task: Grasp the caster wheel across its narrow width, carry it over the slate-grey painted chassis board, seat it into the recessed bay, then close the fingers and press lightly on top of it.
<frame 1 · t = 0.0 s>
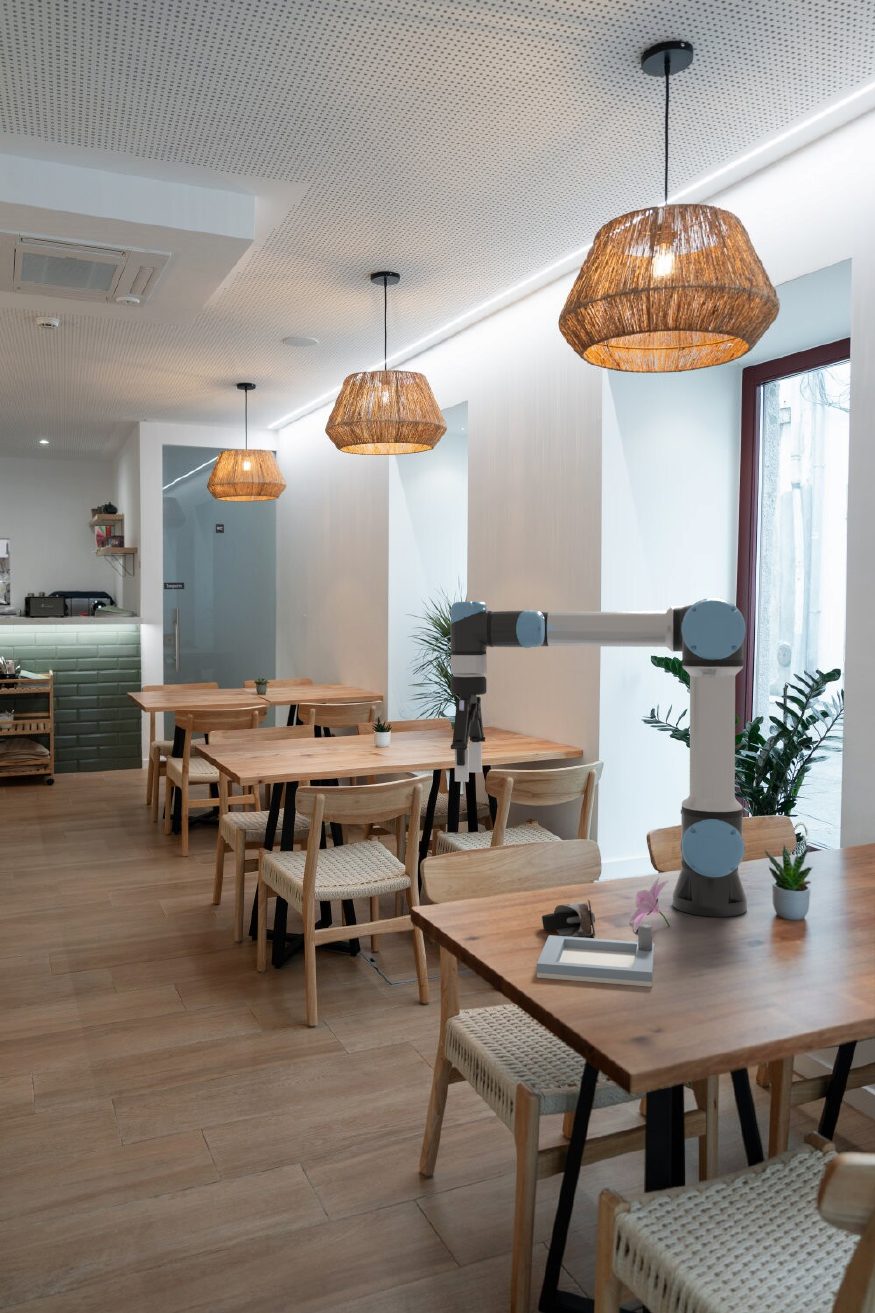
hand: (468, 776, 207), 28 cm above the table, fingers open, 13 cm apart
lily: (648, 928, 195), on the table
chassis: (597, 966, 172), on the table
caster wheel: (568, 935, 191), on the table
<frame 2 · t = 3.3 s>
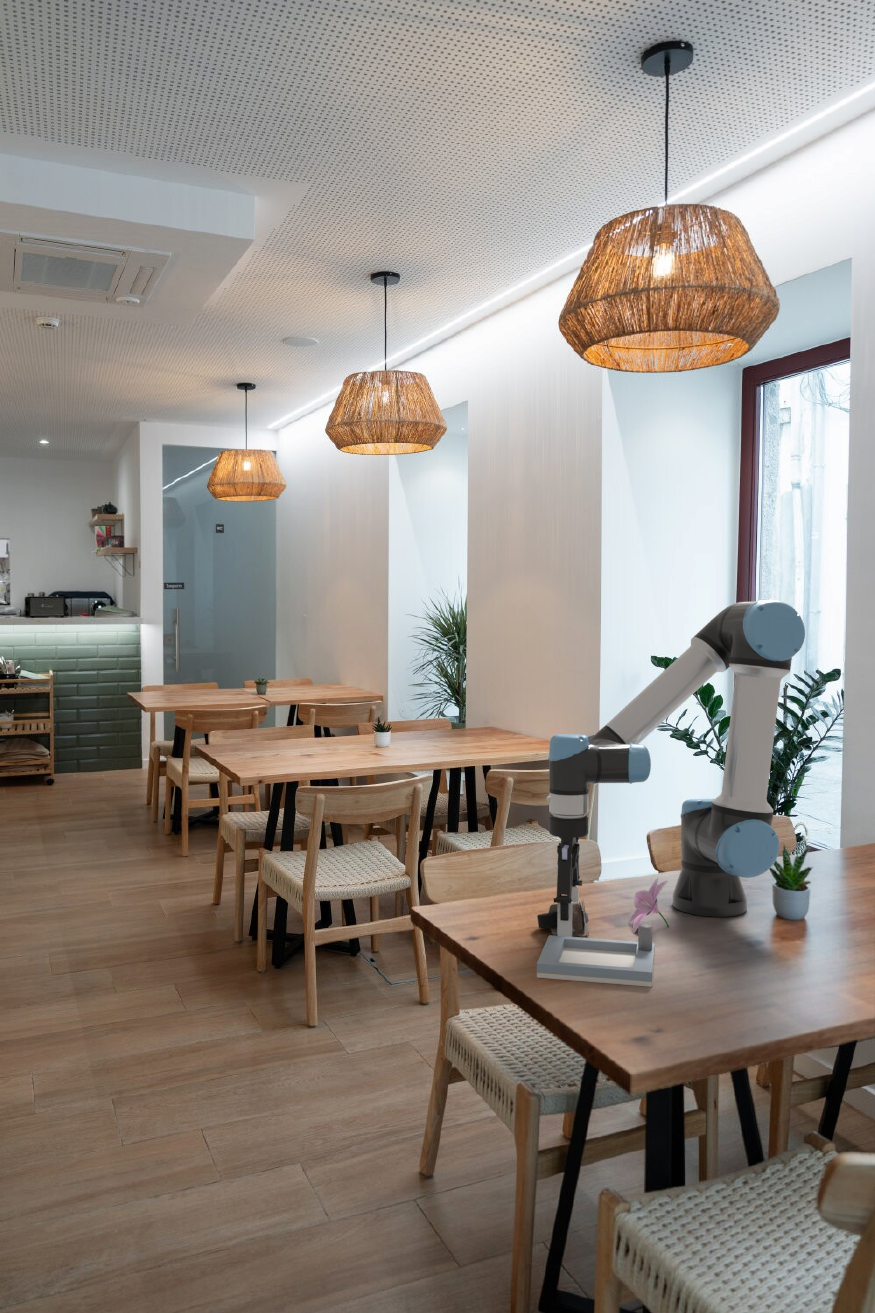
hand: (568, 927, 191), 1 cm above the table, fingers closed on caster wheel, 11 cm apart
caster wheel: (562, 934, 191), on the table, touching gripper
everything else where it was.
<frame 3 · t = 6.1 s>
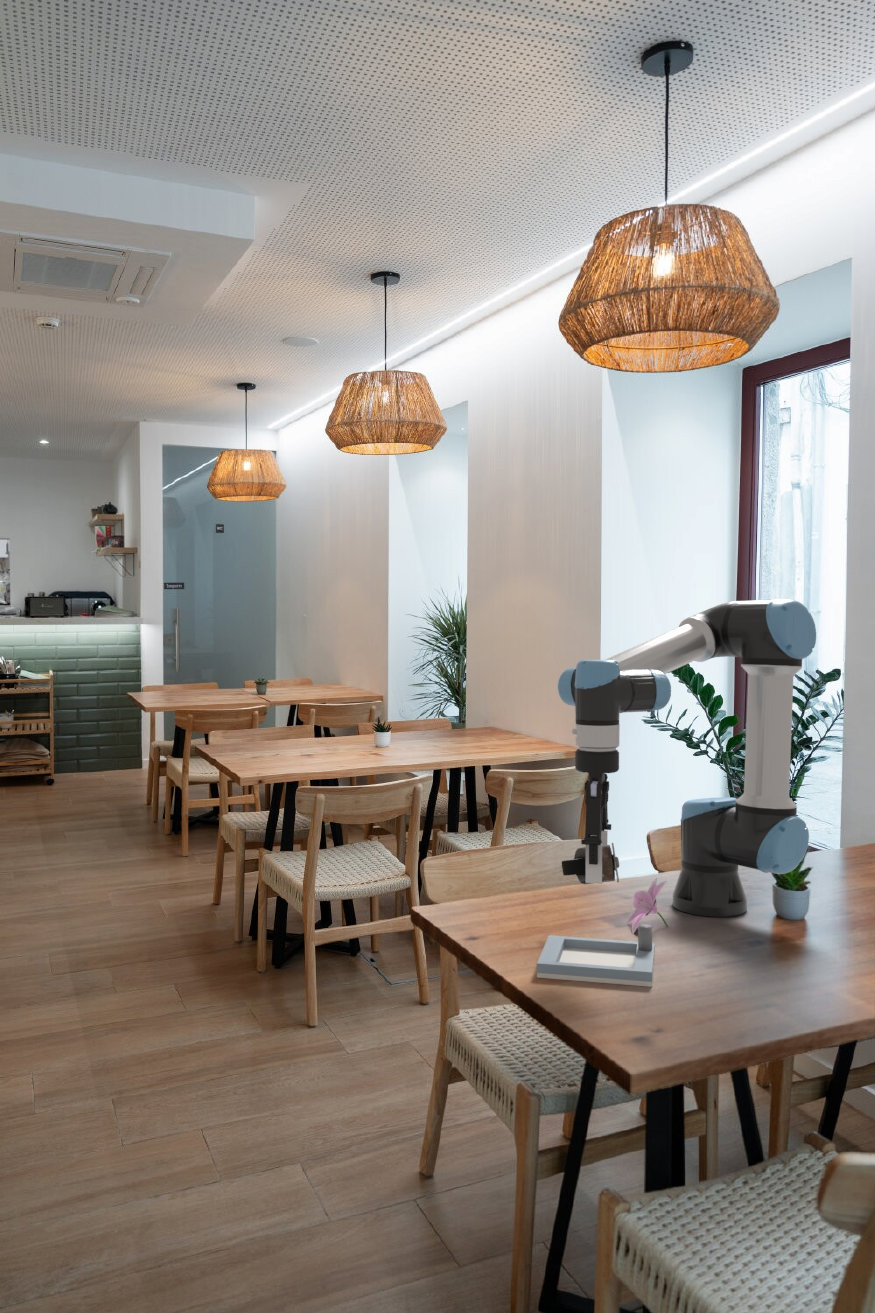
hand: (596, 874, 172), 16 cm above the table, fingers closed on caster wheel, 11 cm apart
caster wheel: (590, 882, 172), point 15 cm above the table, touching gripper
everything else where it was.
when the fingers open (4 cm above the table, at t = 8.9 s): caster wheel drops 2 cm, resting on chassis.
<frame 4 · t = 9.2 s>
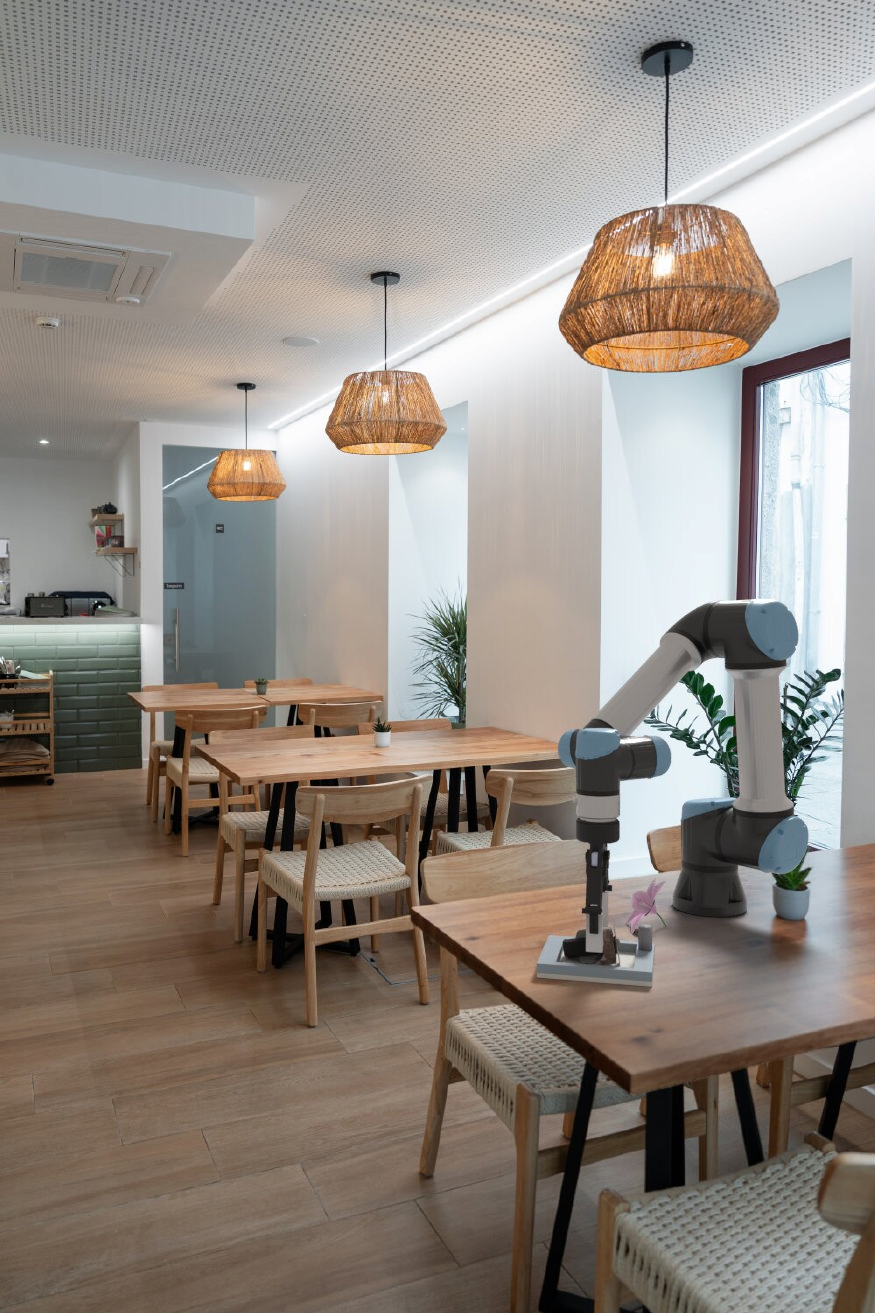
hand: (597, 939, 172), 5 cm above the table, fingers open, 13 cm apart
caster wheel: (591, 963, 172), point 1 cm above the table, touching chassis
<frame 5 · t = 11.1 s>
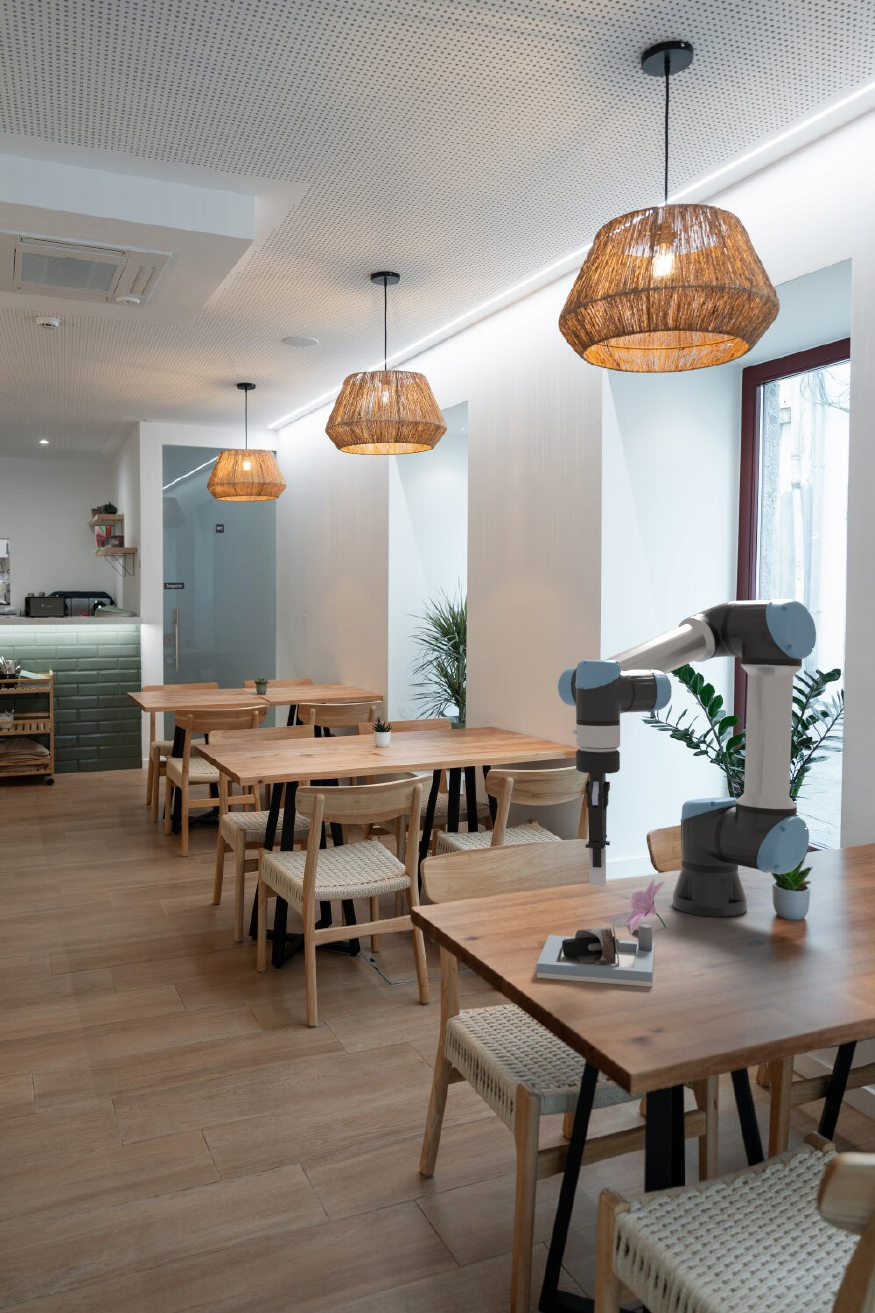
hand: (597, 884, 172), 14 cm above the table, fingers closed
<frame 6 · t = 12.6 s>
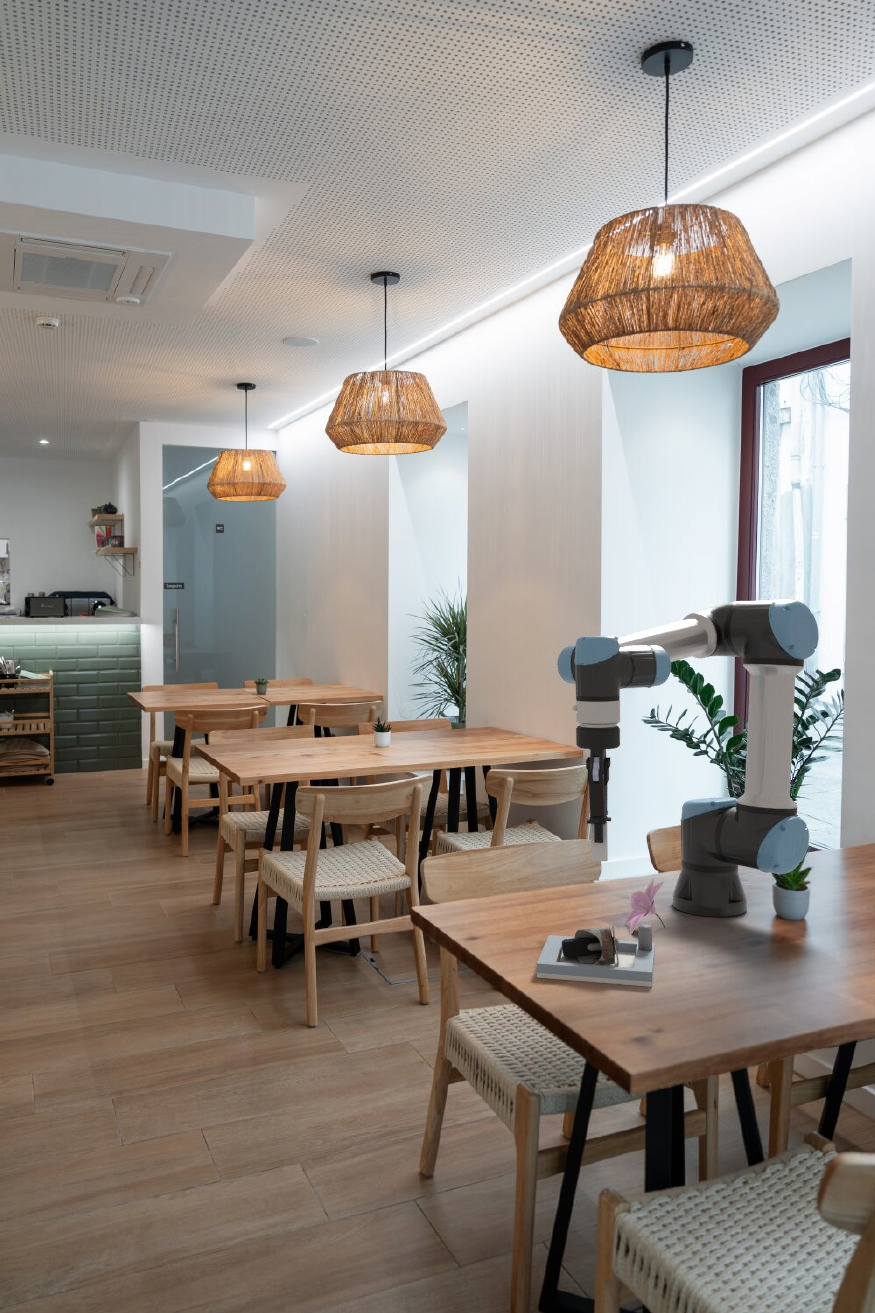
hand: (599, 860, 172), 19 cm above the table, fingers closed
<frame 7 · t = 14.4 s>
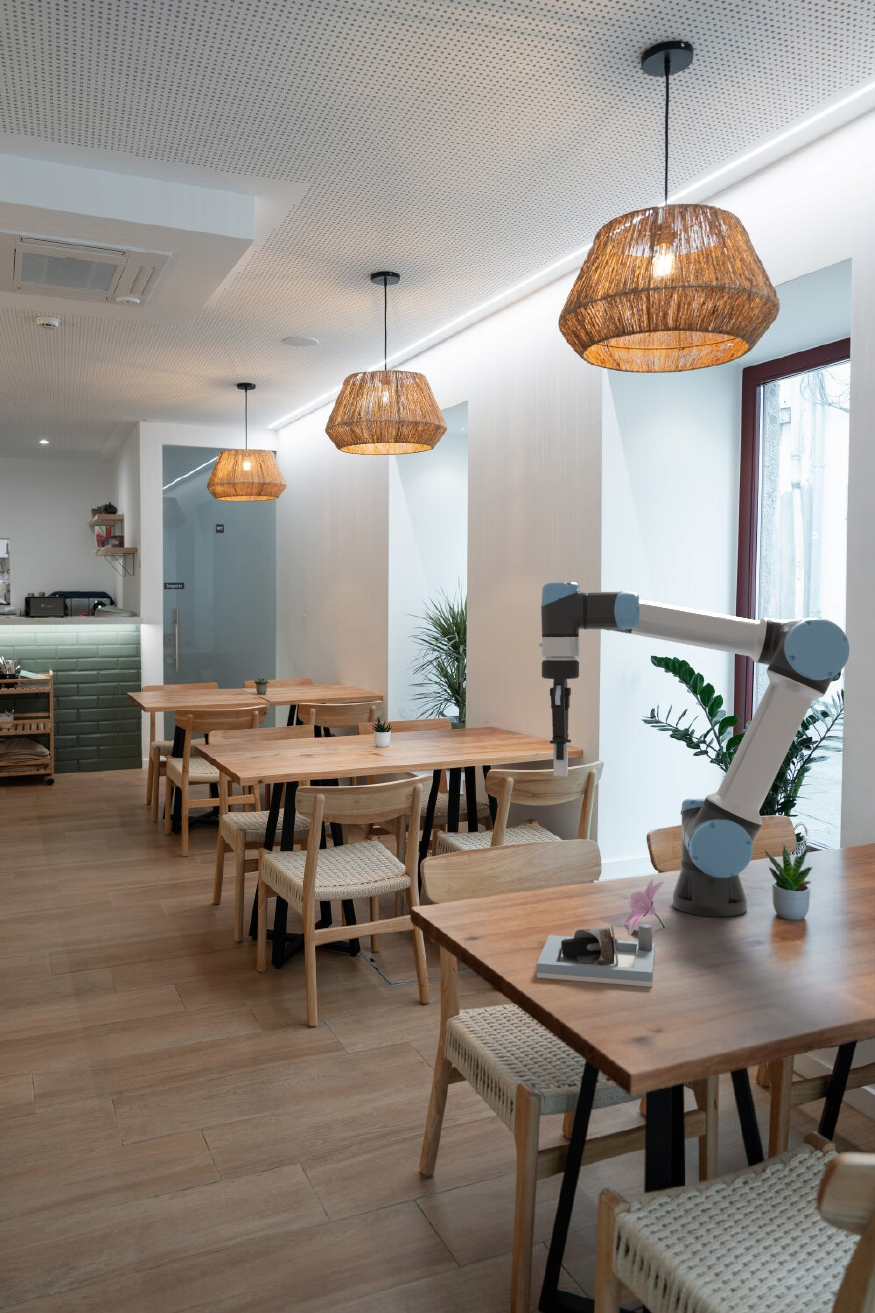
hand: (560, 775, 200), 29 cm above the table, fingers closed
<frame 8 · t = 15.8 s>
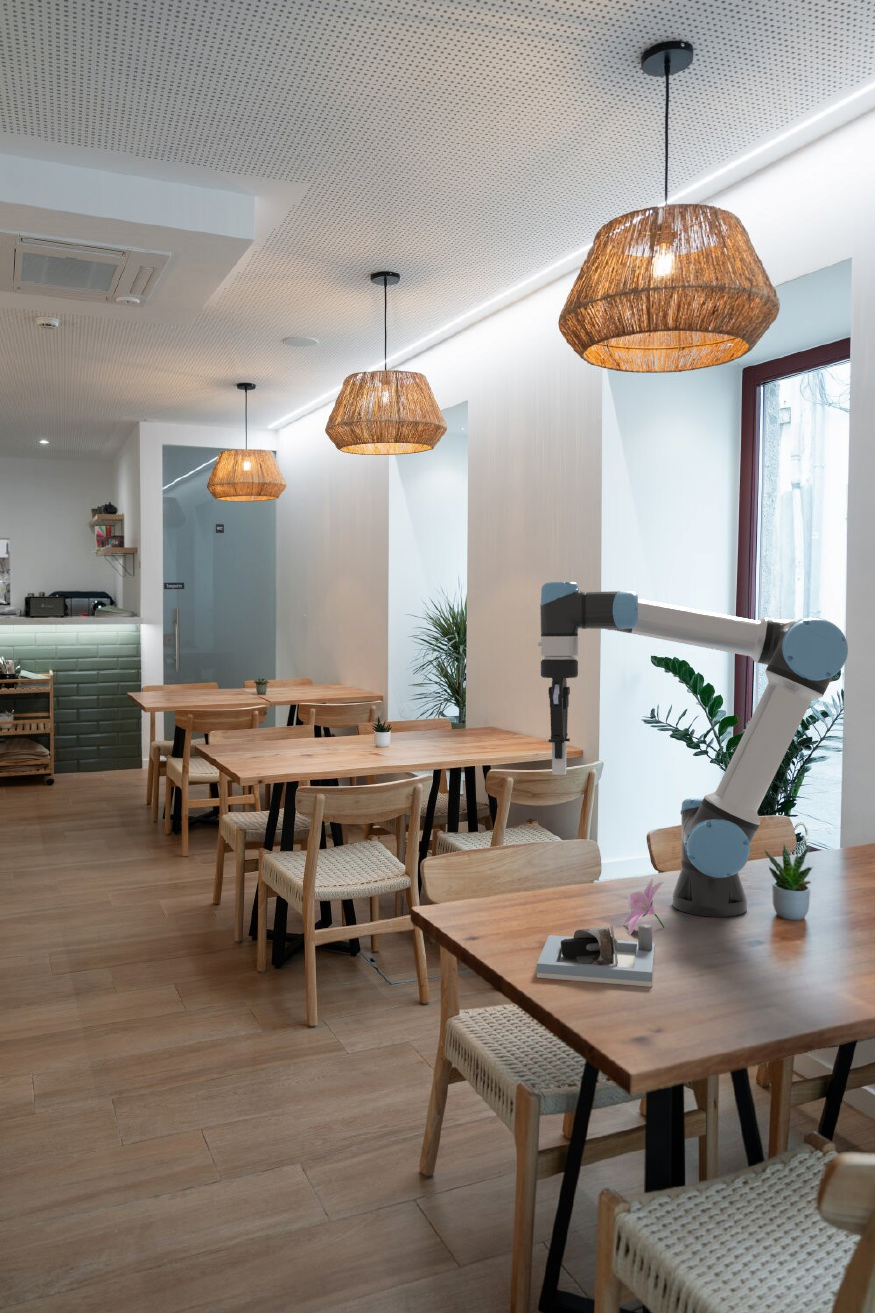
hand: (559, 774, 201), 29 cm above the table, fingers closed
at the end: caster wheel inside the target area on the chassis (1.6 cm from its centre), point 0.6 cm above the chassis's base; caster wheel tilted 0°; caster wheel touching chassis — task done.
